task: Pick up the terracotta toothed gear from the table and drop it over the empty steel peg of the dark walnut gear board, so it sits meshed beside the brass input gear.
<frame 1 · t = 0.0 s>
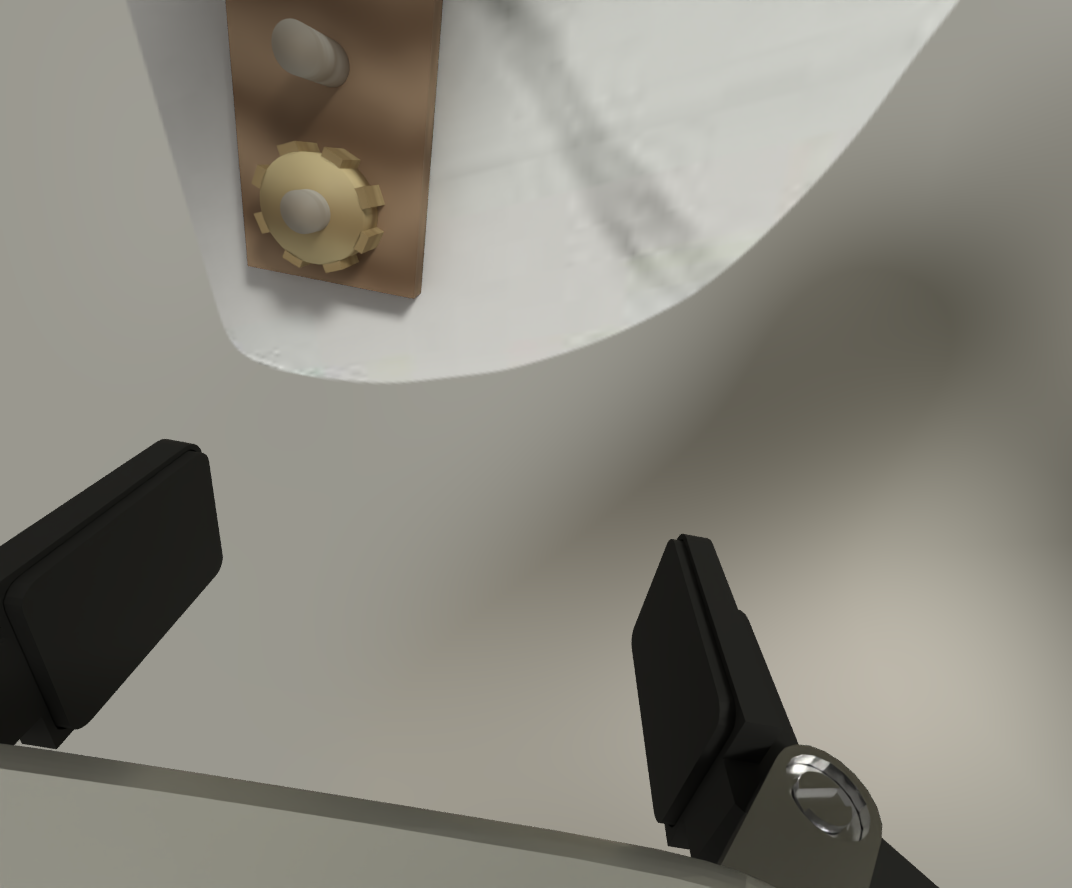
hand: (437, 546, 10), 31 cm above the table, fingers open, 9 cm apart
gear board: (342, 123, 34), on the table
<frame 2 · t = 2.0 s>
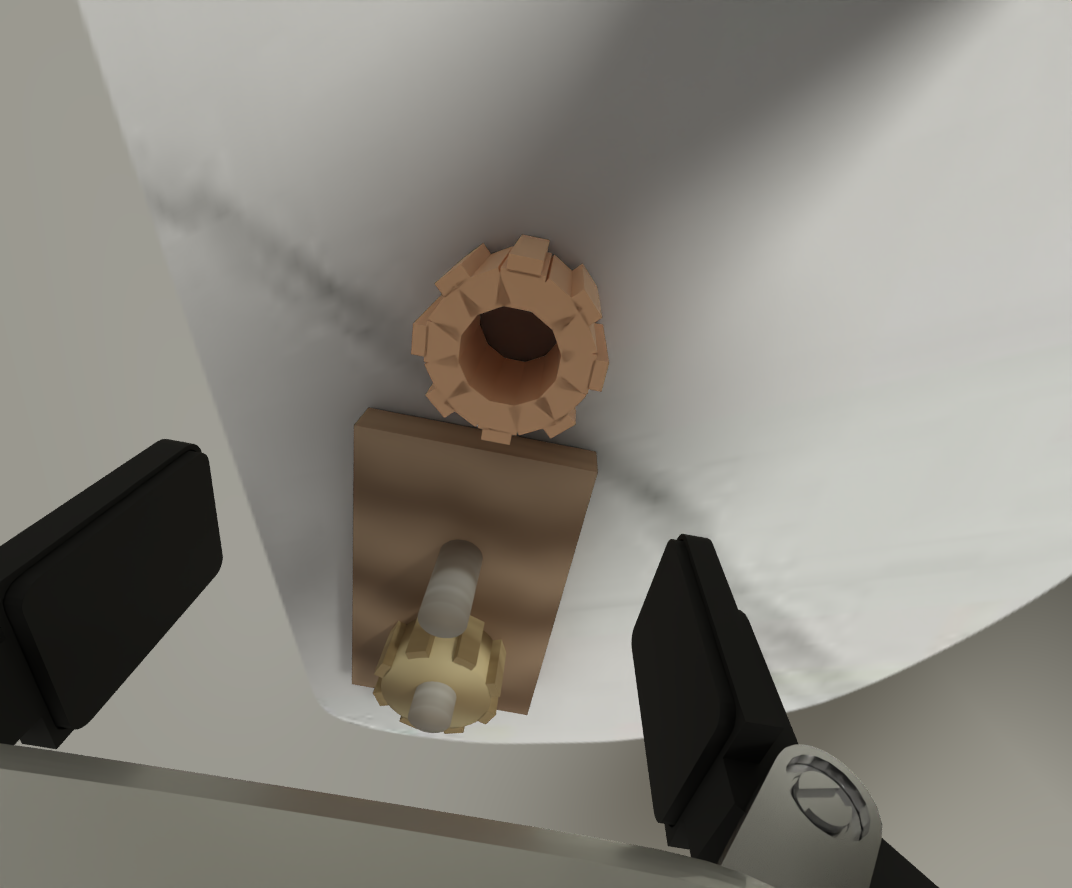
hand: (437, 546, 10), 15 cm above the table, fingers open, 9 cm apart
gear board: (462, 570, 31), on the table
loose gear: (521, 321, 24), on the table
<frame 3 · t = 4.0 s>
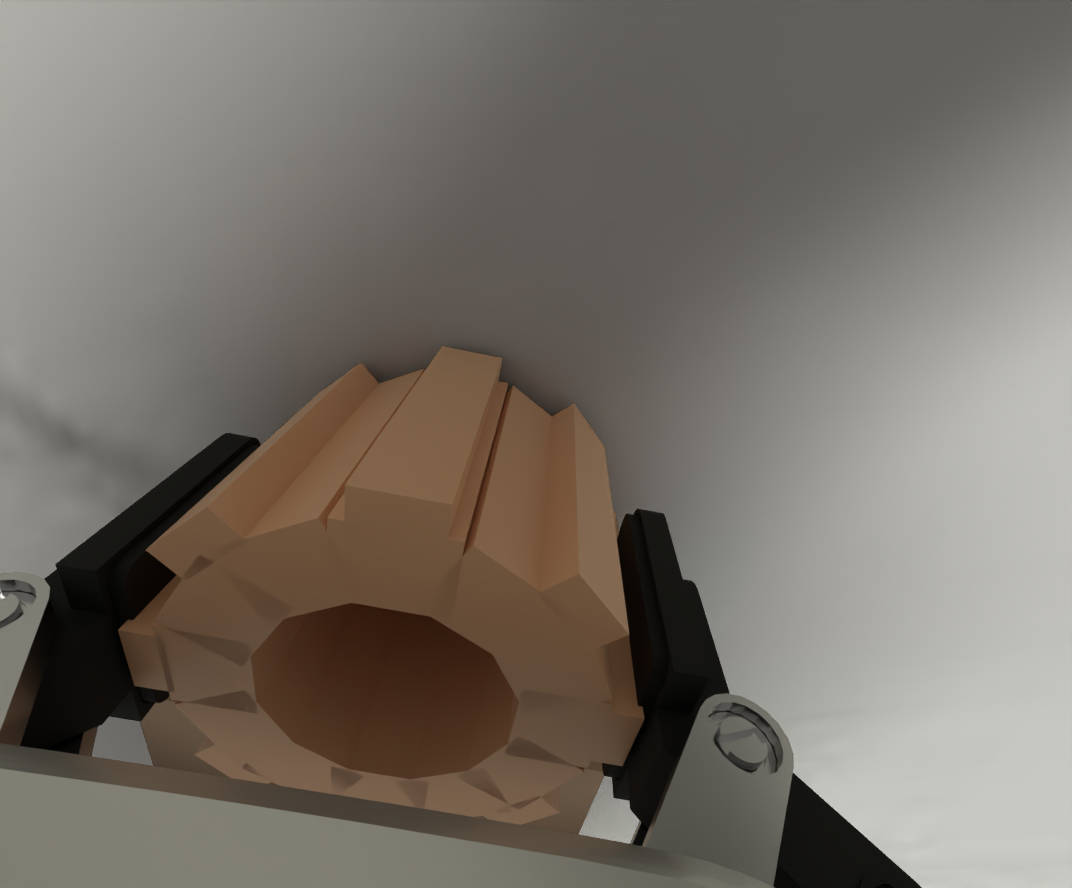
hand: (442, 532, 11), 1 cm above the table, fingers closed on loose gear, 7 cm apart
gear board: (382, 838, 19), on the table
loose gear: (452, 503, 12), on the table, touching gripper
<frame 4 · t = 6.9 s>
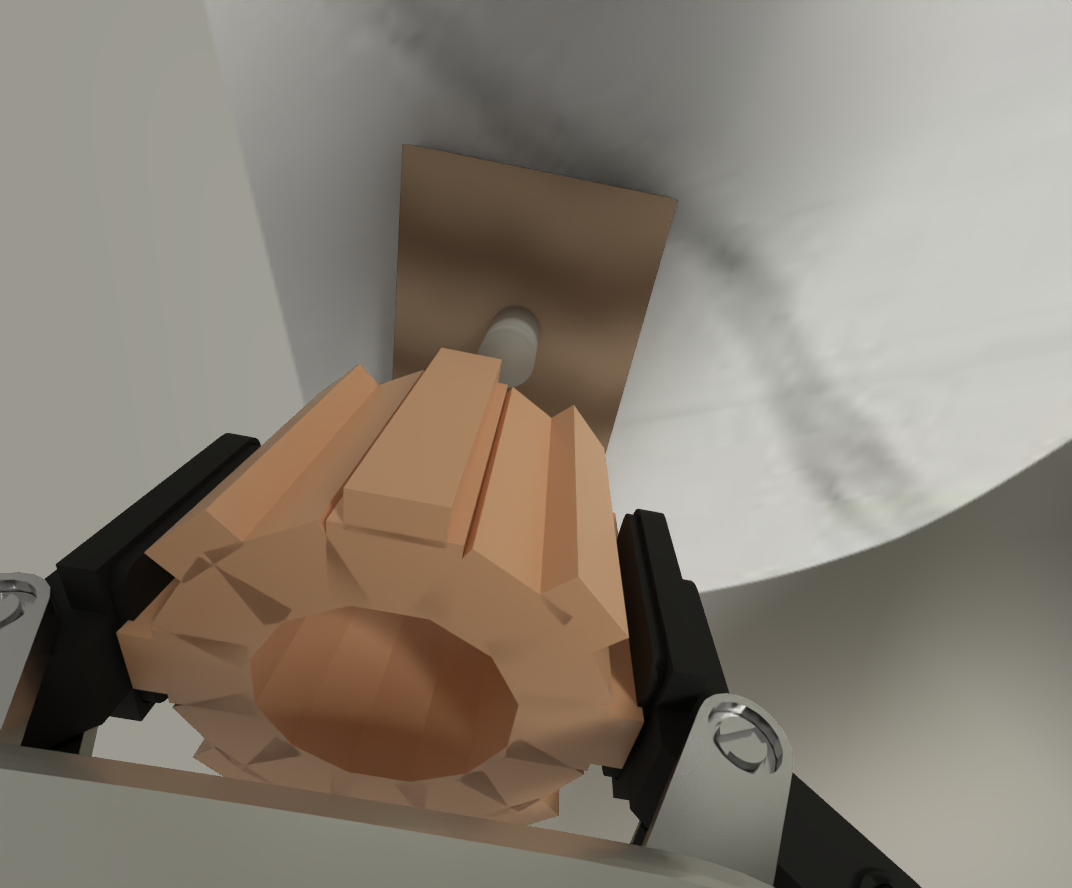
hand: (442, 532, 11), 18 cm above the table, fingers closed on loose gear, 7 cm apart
gear board: (510, 371, 29), on the table
loose gear: (452, 504, 12), point 17 cm above the table, touching gripper
when the fingers open (4 cm above the table, at t = 9.6 s): loose gear drops 1 cm, resting on gear board.
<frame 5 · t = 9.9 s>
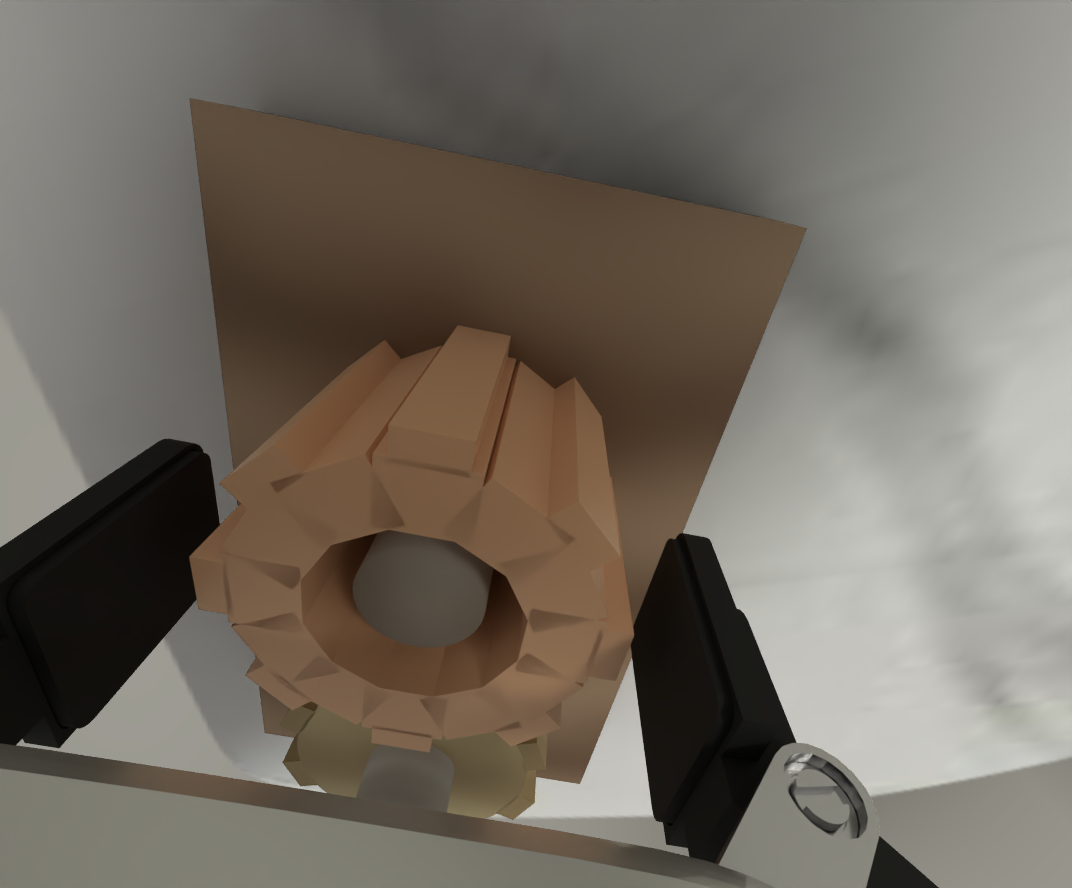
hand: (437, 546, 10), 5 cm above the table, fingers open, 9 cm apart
gear board: (464, 516, 16), on the table
loose gear: (464, 470, 13), point 2 cm above the table, touching gear board
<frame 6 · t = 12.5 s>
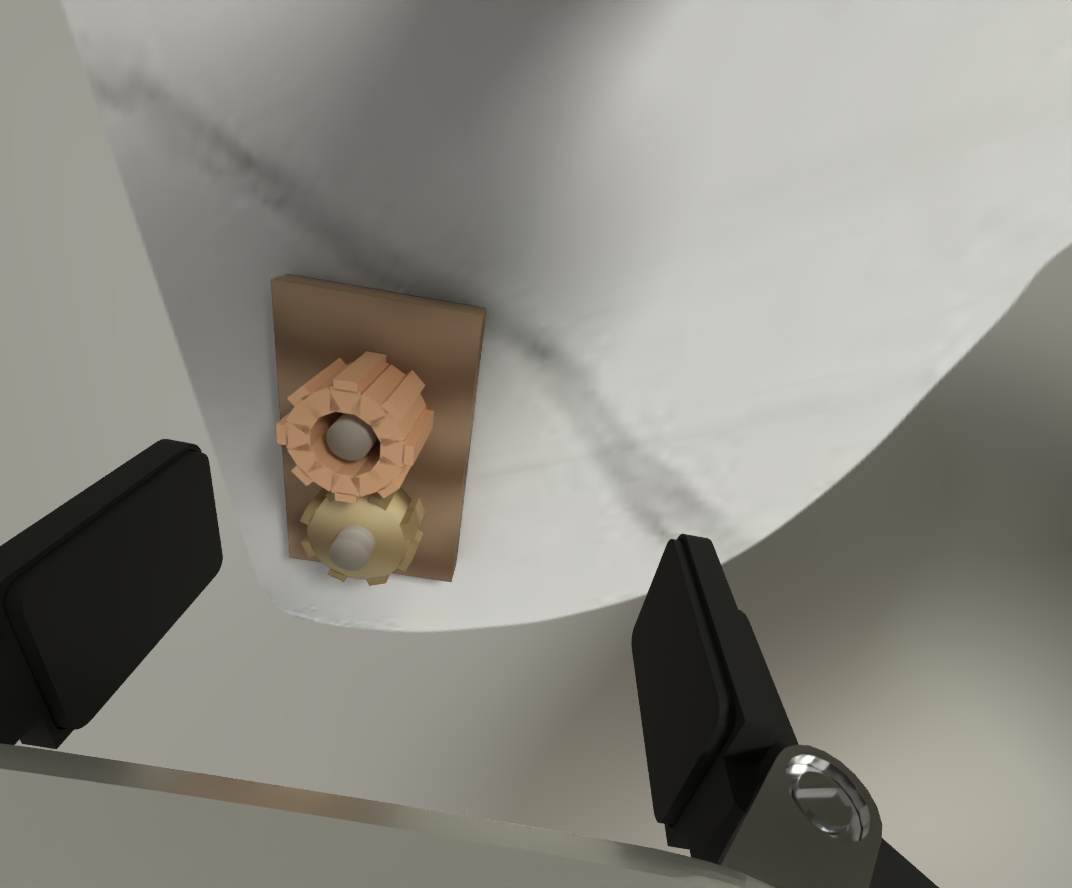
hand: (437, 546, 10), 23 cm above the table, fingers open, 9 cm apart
gear board: (383, 438, 35), on the table
loose gear: (375, 409, 32), point 2 cm above the table, touching gear board
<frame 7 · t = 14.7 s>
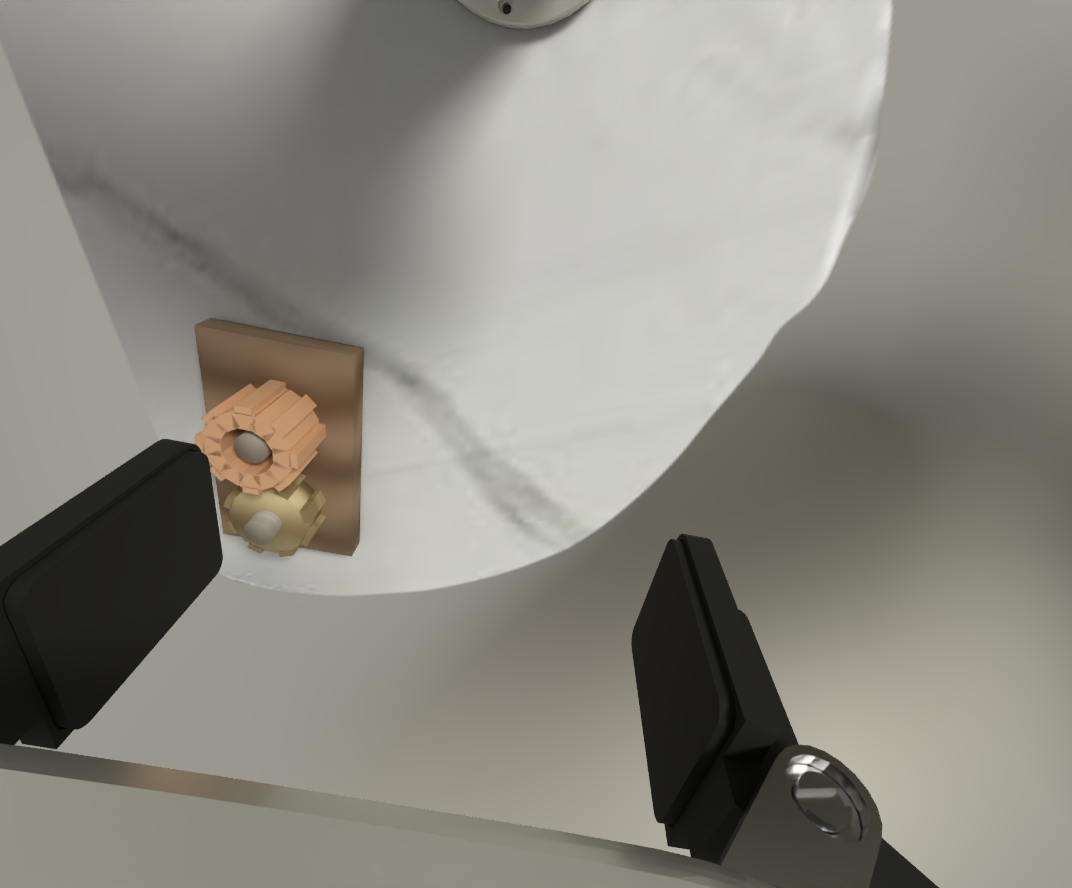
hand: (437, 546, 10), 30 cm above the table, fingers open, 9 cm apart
gear board: (293, 442, 45), on the table
loose gear: (280, 422, 42), point 2 cm above the table, touching gear board
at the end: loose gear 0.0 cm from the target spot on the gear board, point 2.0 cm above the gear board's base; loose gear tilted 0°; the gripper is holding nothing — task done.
